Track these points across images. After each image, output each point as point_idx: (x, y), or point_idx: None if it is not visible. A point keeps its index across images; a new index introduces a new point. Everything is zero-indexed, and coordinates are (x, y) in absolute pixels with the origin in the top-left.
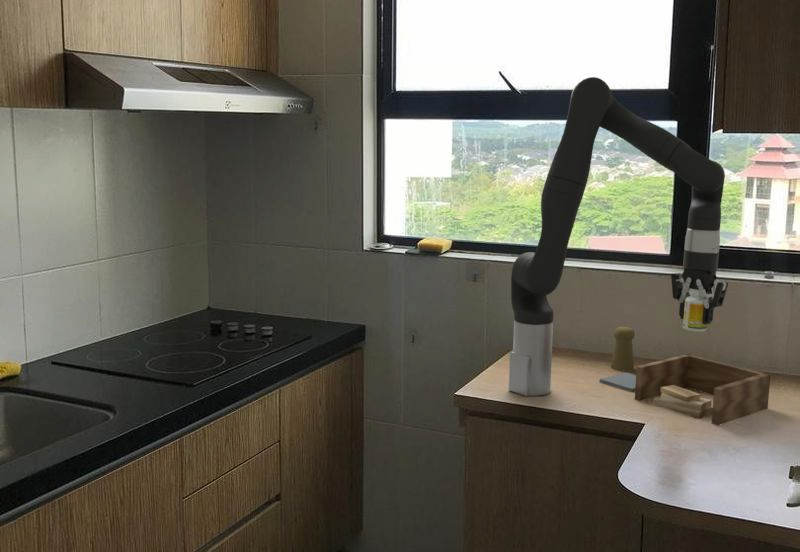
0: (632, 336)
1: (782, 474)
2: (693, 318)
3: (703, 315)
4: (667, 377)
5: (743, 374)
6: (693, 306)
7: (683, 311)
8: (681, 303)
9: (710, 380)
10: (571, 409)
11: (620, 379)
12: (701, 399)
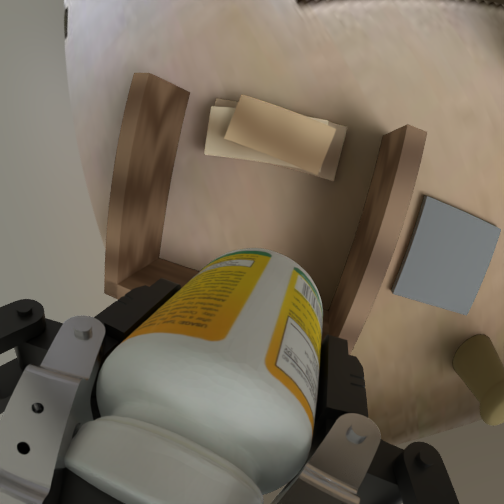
0: (485, 401)
1: (72, 8)
2: (220, 274)
3: (150, 302)
4: (360, 248)
5: None
6: (187, 319)
7: (327, 364)
8: (351, 412)
9: None
10: (448, 12)
11: (467, 255)
12: (225, 142)
